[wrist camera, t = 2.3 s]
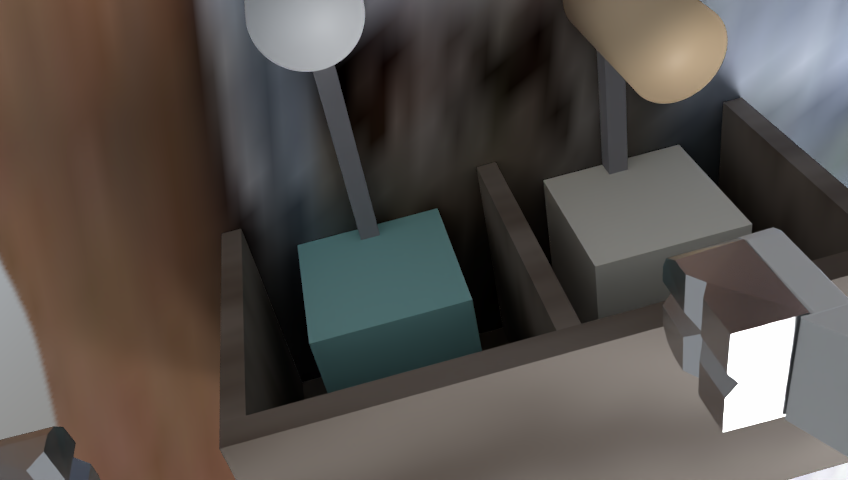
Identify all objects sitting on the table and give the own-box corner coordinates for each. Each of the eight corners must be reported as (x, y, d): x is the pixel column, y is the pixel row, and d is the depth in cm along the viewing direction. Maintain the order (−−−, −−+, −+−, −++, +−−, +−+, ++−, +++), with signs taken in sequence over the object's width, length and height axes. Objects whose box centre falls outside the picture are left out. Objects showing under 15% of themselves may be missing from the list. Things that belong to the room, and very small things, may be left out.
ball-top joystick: (458, 312, 37) (492, 408, 32) (332, 346, 37) (348, 448, 32) (369, -122, 26) (402, -71, 21) (184, -77, 25) (175, -15, 20)
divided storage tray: (728, 278, 39) (871, 455, 31) (290, 398, 38) (309, 617, 29) (741, 97, 33) (925, 254, 24) (221, 233, 32) (219, 448, 23)
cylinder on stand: (676, 253, 38) (741, 339, 33) (554, 286, 37) (601, 378, 33) (683, -73, 28) (775, -19, 24) (521, -33, 28) (581, 30, 23)
